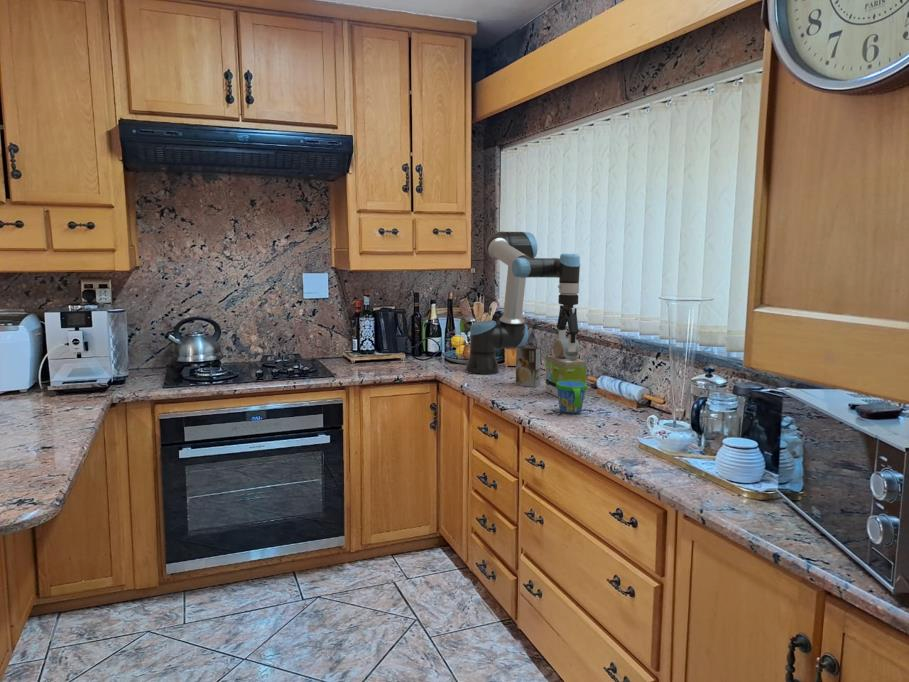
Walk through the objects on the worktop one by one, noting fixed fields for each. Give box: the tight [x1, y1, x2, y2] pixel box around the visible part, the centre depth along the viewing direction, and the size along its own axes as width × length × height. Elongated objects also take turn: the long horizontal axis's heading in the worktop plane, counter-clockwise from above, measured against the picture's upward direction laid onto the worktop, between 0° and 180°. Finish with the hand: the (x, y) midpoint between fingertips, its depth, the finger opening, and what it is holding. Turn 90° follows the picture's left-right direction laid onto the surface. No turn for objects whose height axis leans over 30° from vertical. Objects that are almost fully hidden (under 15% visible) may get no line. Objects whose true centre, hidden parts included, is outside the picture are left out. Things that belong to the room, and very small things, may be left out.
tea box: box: [545, 355, 587, 399], centre depth 259 cm, size 15×10×15 cm, turn 20°
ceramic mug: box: [552, 337, 581, 360], centre depth 257 cm, size 11×8×8 cm
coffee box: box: [515, 345, 542, 388], centre depth 278 cm, size 9×6×16 cm
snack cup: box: [556, 381, 588, 415], centre depth 232 cm, size 16×10×10 cm
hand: (566, 349), depth 258 cm, fingers open, 13 cm apart
